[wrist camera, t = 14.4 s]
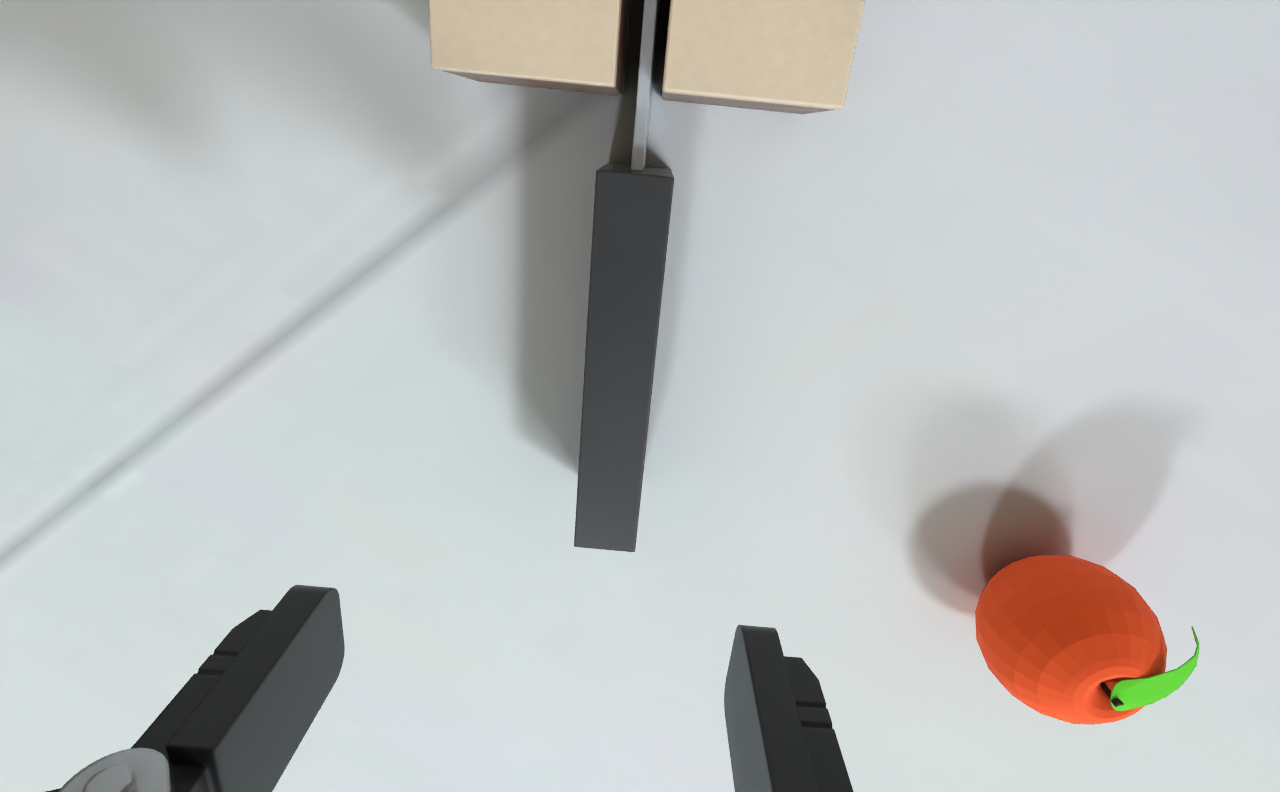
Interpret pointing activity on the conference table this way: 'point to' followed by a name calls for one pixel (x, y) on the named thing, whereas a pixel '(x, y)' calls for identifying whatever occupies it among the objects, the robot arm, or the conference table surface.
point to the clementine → (1074, 640)
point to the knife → (622, 327)
